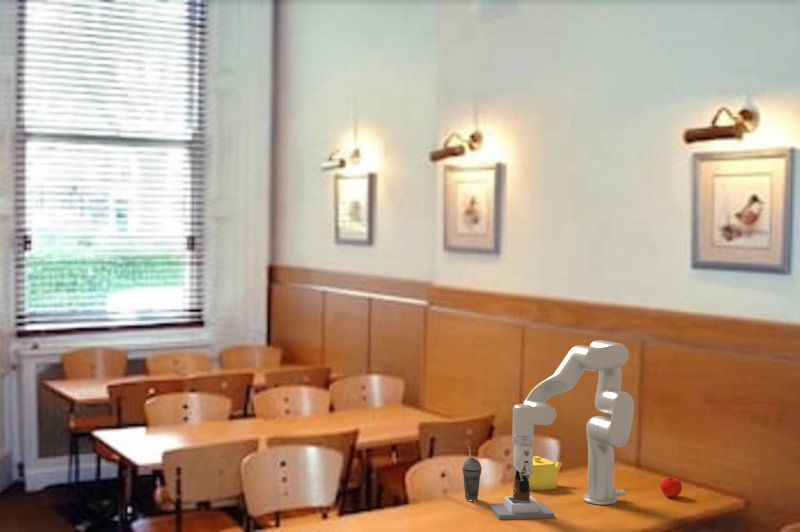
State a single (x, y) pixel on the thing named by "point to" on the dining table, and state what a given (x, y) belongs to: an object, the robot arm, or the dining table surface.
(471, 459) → the beverage cup
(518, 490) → the utensil holder
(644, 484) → the dining table surface
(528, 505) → the dock
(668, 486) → the apple
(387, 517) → the dining table surface
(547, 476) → the teapot
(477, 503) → the dining table surface
